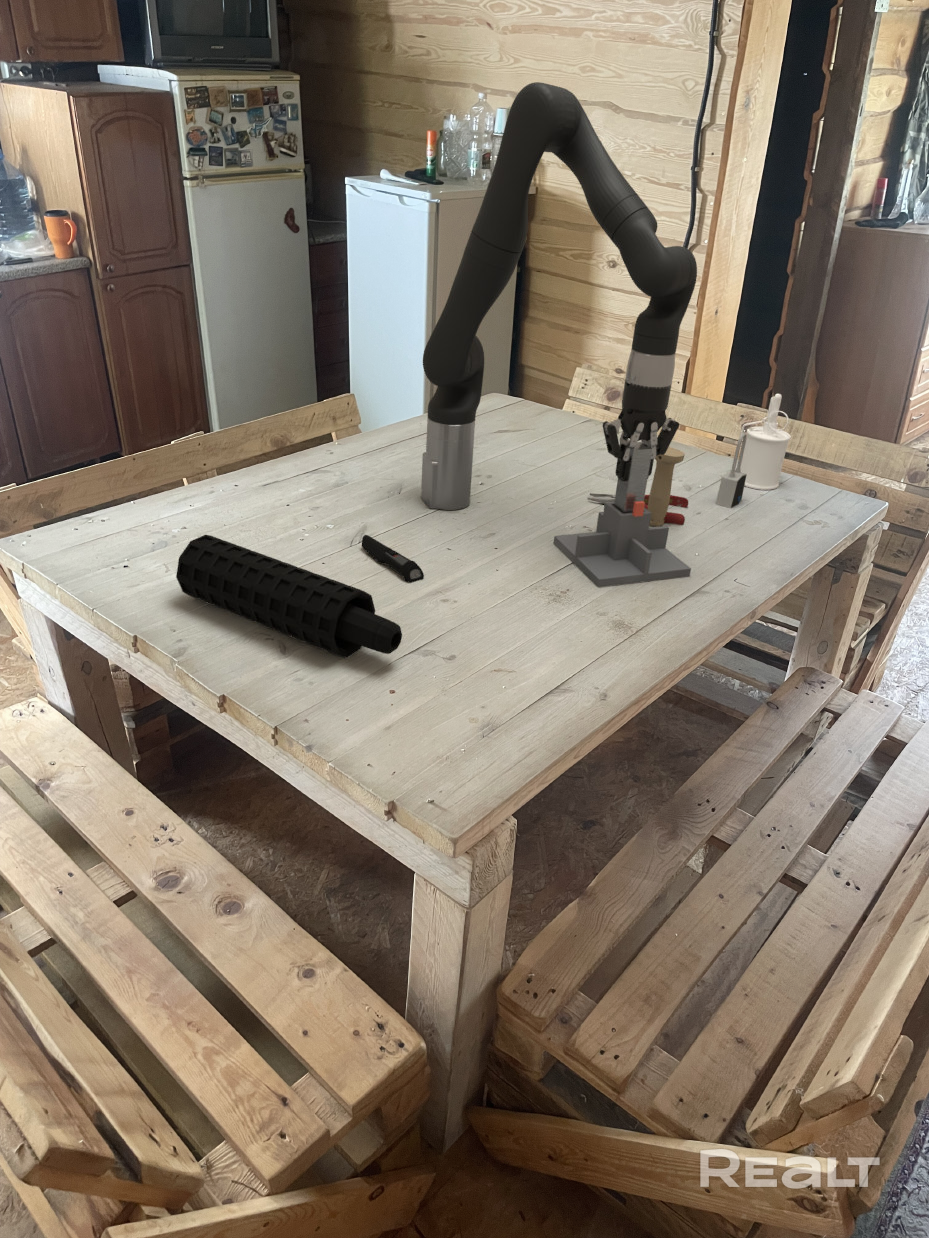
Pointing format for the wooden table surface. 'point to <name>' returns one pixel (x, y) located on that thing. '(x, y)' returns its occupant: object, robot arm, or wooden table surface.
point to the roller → (284, 598)
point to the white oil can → (765, 450)
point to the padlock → (733, 480)
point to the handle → (662, 485)
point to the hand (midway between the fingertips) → (632, 478)
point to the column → (634, 479)
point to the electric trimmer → (392, 559)
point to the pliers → (669, 518)
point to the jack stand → (623, 549)
